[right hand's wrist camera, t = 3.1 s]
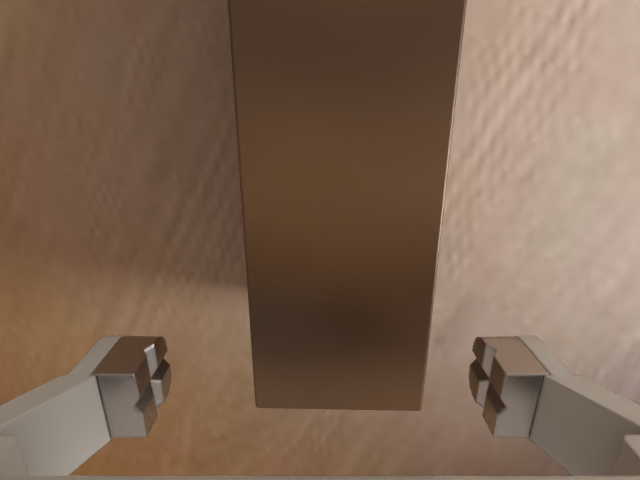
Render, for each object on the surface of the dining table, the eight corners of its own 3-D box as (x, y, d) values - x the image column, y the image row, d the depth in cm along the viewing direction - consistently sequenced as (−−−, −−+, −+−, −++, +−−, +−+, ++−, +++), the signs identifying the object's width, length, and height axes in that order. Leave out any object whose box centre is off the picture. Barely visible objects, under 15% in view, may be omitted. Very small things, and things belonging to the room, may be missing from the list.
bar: (387, 294, 21) (422, 412, 13) (283, 293, 21) (255, 409, 13) (426, -294, 13) (561, -837, 6) (262, -291, 14) (170, -817, 6)
